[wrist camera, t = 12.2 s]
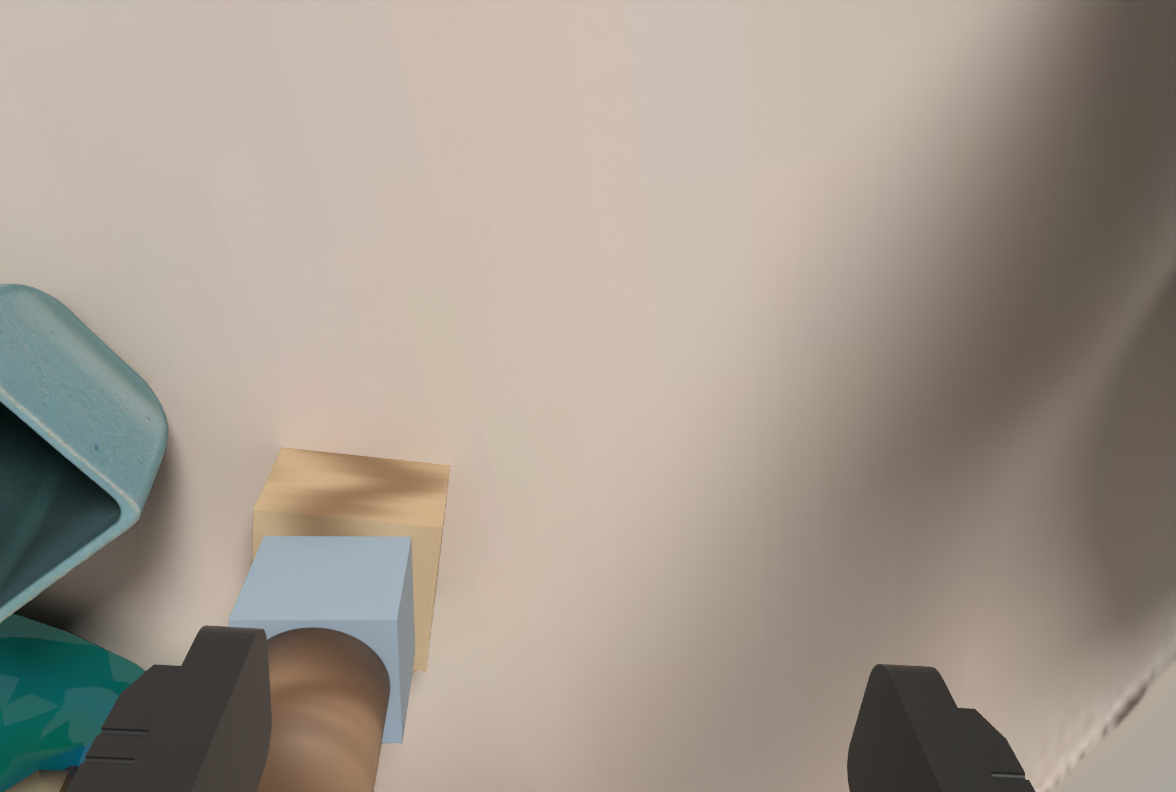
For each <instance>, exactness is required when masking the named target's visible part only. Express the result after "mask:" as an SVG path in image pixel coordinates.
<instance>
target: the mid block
mask: <svg viewBox="0 0 1176 792" xmlns="http://www.w3.org/2000/svg"><path fill="white" fill-rule="evenodd" d="M229 627H240V628H259V629H264V631H265V633H266V636H267V640H268V639H269V638H271V637H273V636H275V635H277V634H279V633H282V632H285V631H288V630H293V629H298V628H327V629H332V630H337V631H340V632H343V633H346V634H348V635H351V636H353V637H355V638H357V639H359V640H360V641H362V642H364V643H365V644H366V645H368V646H369V647H370V648H371V649H372V650H373V651H375V652H376V653H377V655H378V656H379V657H380V658H381V660H382V661H383V663H384V665H385V666H386V669H387V671H388V674H389V678H390V696H389V702H388V708H387V714H386V720H385V726H384V732H383V738H382V743H402V742H403V734H404V727H405V720H406V713H407V706H408V699H409V692H410V685H411V678H412V671H413V664H414V656H415V626H414V597H413V567H412V538H411V537H400V536H264V537H263V539H262V542H261V544H260V547H259V549H258V551H257V554H256V556H255V559H254V561H253V563H252V566H251V568H250V570H249V573H248V575H247V578H246V580H245V582H244V585H243V587H242V590H241V592H240V594H239V597H238V599H237V602H236V604H235V606H234V609H233V611H232V613H231V616H230V618H229Z"/></svg>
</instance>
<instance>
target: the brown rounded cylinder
mask: <svg viewBox="0 0 1176 792" xmlns="http://www.w3.org/2000/svg"><path fill="white" fill-rule="evenodd" d="M267 646H268V662H269V679H270V695H271V712H272V728H271V739H270V746H269V751H268V756H267V761H266V764H265V768H264V771H263V774H262V777H261V780H260V783H259V786H258V789H257V792H374V786H375V780H376V774H377V768H378V762H379V756H380V750H381V744H382V738H383V732H384V726H385V720H386V714H387V708H388V702H389V696H390V678H389V674H388V671H387V669H386V666H385V665H384V663H383V661H382V660H381V658H380V657H379V656H378V655H377V653H376V652H375V651H373V650H372V649H371V648H370V647H369V646H368V645H366V644H365V643H364V642H362V641H360V640H359V639H357V638H355V637H353V636H351V635H348V634H346V633H343V632H340V631H337V630H332V629H327V628H298V629H293V630H288V631H285V632H282V633H279V634H277V635H275V636H273V637H271V638H269V639H268V640H267Z"/></svg>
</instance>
